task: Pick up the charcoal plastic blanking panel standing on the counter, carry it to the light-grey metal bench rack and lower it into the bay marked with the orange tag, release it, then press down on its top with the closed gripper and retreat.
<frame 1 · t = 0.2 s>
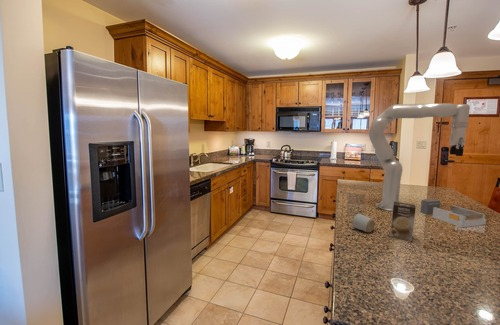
hand: (455, 155, 153), 36 cm above the kitchen island, tool pointing down, fingers open, 9 cm apart
coffee box: (400, 237, 124), on the kitchen island
blanking panel: (429, 212, 161), on the kitchen island
grey short cylinder: (364, 230, 132), on the kitchen island
rack: (457, 220, 147), on the kitchen island
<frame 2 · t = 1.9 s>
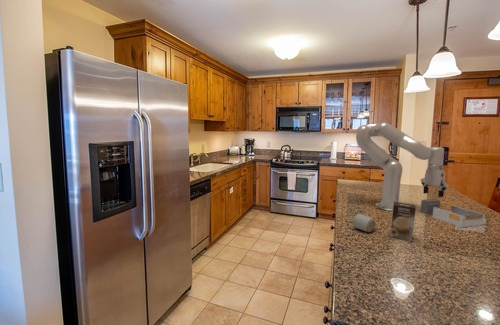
hand: (433, 195, 159), 11 cm above the kitchen island, tool pointing down, fingers open, 9 cm apart
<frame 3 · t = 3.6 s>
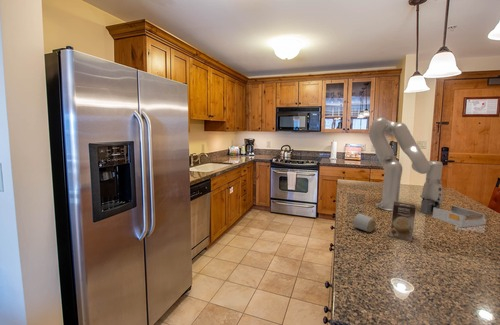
hand: (430, 210, 160), 2 cm above the kitchen island, tool pointing down, fingers closed on blanking panel, 4 cm apart
blanking panel: (429, 212, 161), on the kitchen island, touching gripper
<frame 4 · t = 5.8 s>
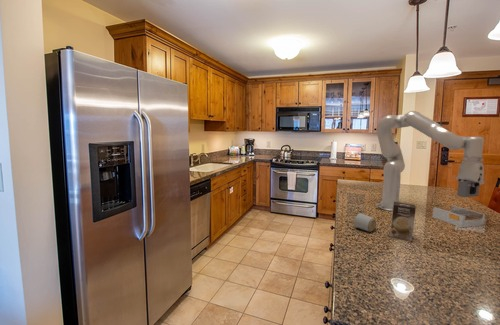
hand: (467, 192, 141), 17 cm above the kitchen island, tool pointing down, fingers closed on blanking panel, 4 cm apart
blanking panel: (467, 195, 141), point 16 cm above the kitchen island, touching gripper
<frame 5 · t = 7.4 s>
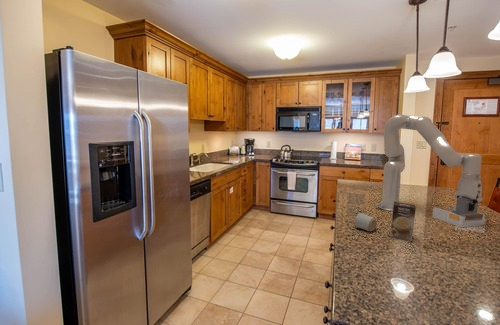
hand: (466, 209, 142), 8 cm above the kitchen island, tool pointing down, fingers closed on blanking panel, 4 cm apart
blanking panel: (466, 212, 142), point 6 cm above the kitchen island, touching gripper
when the fingers open (4 cm above the kitchen island, at t = 8.5 s): blanking panel drops 1 cm, resting on rack.
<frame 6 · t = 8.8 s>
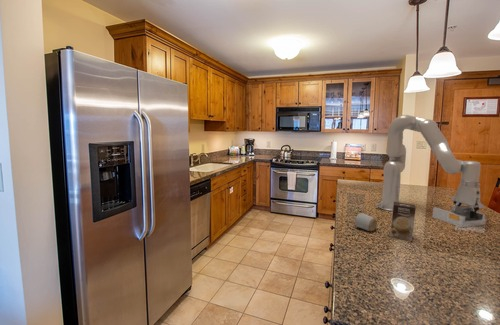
hand: (465, 215, 143), 5 cm above the kitchen island, tool pointing down, fingers open, 6 cm apart
blanking panel: (464, 221, 143), point 1 cm above the kitchen island, touching rack
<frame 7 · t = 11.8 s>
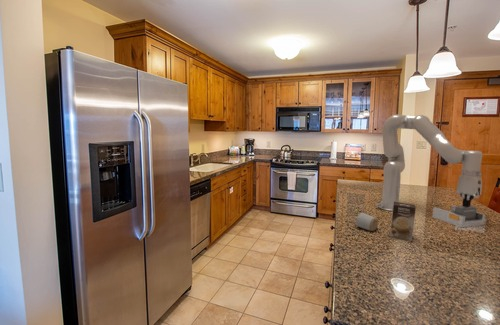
hand: (466, 206, 142), 10 cm above the kitchen island, tool pointing down, fingers closed
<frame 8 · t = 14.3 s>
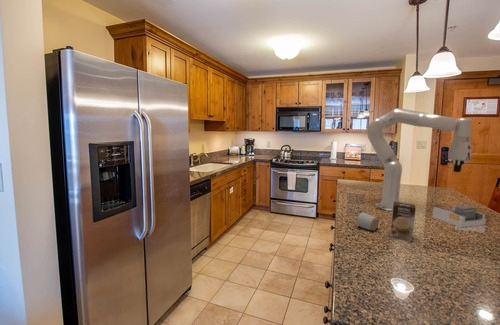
hand: (457, 171, 150), 27 cm above the kitchen island, tool pointing down, fingers closed
at the end: blanking panel 0.0 cm from the target spot on the rack, point 1.2 cm above the rack's base; blanking panel tilted 0°; the gripper is holding nothing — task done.
